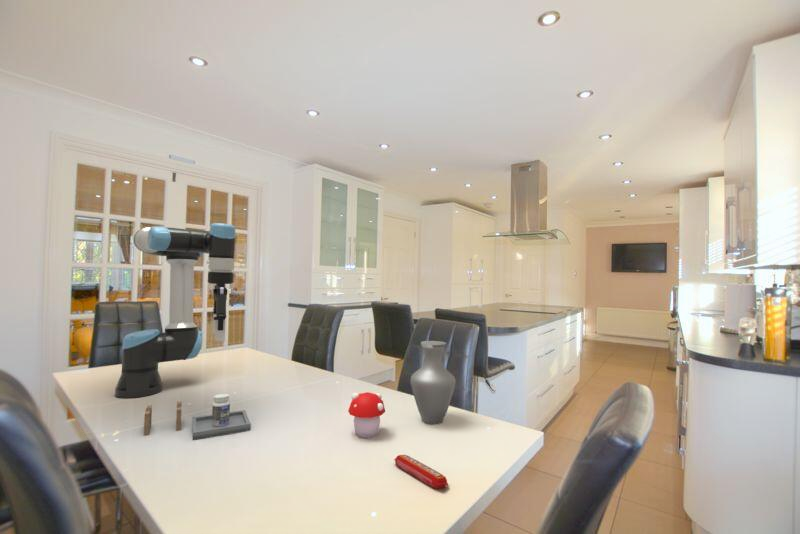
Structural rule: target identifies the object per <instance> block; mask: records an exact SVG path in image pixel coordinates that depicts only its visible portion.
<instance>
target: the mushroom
mask: <svg viewBox="0 0 800 534" xmlns="http://www.w3.org/2000/svg"><path fill="white" fill-rule="evenodd" d="M382 397H383V396H382V394H381V392H380V393H379V392H376V393H373V392H369V391H366V392H363V393H362V392H361V393H358V392H353V393H352V394H351V399H352V400H351V402H350V405H349V408H348V411H347V412H348V413H349V416H353V426H354V433H355V437H358V438H361V439H372V438H375V437H377V436H378V435H379V431H380V424H381V416H382V415H384V414H385V412H386V408H385V404H384V400H382Z"/></svg>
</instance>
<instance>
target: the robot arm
mask: <svg viewBox="0 0 800 534" xmlns="http://www.w3.org/2000/svg"><path fill="white" fill-rule="evenodd" d="M236 237H237V236H236V226H235V225H233V224H230V223H220V222H219V223H218V222H217V223H216V222H214V223H211V224H210V226H209V230H203V229H202V230H201V229H200V230H199V229H190V228H189V229H188V228H176V227H167V226H161V225H160V226H155V225H154V226H149V227H148V226H147V227H144V228H143V227H142V228H140V229H138V230H137V231H136V232H135V234H134V236H133V243H134V244H133V245H134V246H135V247H136V249H138V251H140V252H142V253H145V254H147V255H151V256H160V257H165V259H166V260H165V261H166V262H167V263H168V264H169V265H170V266H169V268H170V272H169V277H170V278H169V279H170V280H169V310H168V311H169V312H168V313H169V315H168V316H169V319H168V321H169V323H168V324H167V325H166V326H165V327H164V331H163V332H161V331H160V330H159V329H157V328H155V329H145V330H139V331H134V332H130V333H128V334H126V335H125V336H124V337H123V339H122V347H121V350H122V353H121V354H122V357H121V374H120V377H119V379H118V382H117V384H116V387H115V390H114V396H115V397H116V398H121V399H133V398H134V399H136V398H140V397H141V398H142V397H148V396H151V395H155V394H159V393H161V392H162V391H163V385H164V384H163V381H162V377H161V376H160V372H159V364H160V363H166V362H167V363H168V362H174V361H176V362H177V361H186V360H189V359H194V358H197V357H198V355H199V353H200V352H201V350H202V344H203V332H202V331H201V330H199V329H198V325H197V324H195V322H194V292H195V287H194V286H195V285H194V283H195V278H194V277H195V275H194V274H195V265H197V263H198V262H199V259H200V258H202V257H203V255H204V254H208V260H206V264H208V273H207V283H208V284H213V285H214V288H213V289H212V290H213V291H212V293H213V309H212V310H213V315H212V316H213V317H212V335H213V334H214V341H215V342H222V341H226V340H225V338H226V319H227V301H228V300H227V297H228V296H227V295H228V289H227V287H226V285H232V284H234V275H235V274H234V273H233V271H235V250H236V249H235V248H236Z"/></svg>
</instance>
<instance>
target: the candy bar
mask: <svg viewBox="0 0 800 534" xmlns="http://www.w3.org/2000/svg"><path fill="white" fill-rule="evenodd" d="M393 461H394V463H395V464H396V466H397V467H399V468H400V469H402V470H403V471H405V472H407V473H408V474H410V475H412V476H414V477H415V478H417V479H419V480H420V481H421V482H423V483H425V484H427V485H429V486H430V487H431V488H434V489H441V488H445V487H446V486H447V487H449V483H448V479H447V477H446V476H445V475H444V474H442V473H441V472H438V471H436V469H435V470H434V469H433V468H431V467H429V466H427V465H426V464H425V463H422V462H420V461H418V460H417V459H415V458H413V457H411V456H409V455H407V454H399V455H397V456H396V457H395V458H394V459H393Z"/></svg>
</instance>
